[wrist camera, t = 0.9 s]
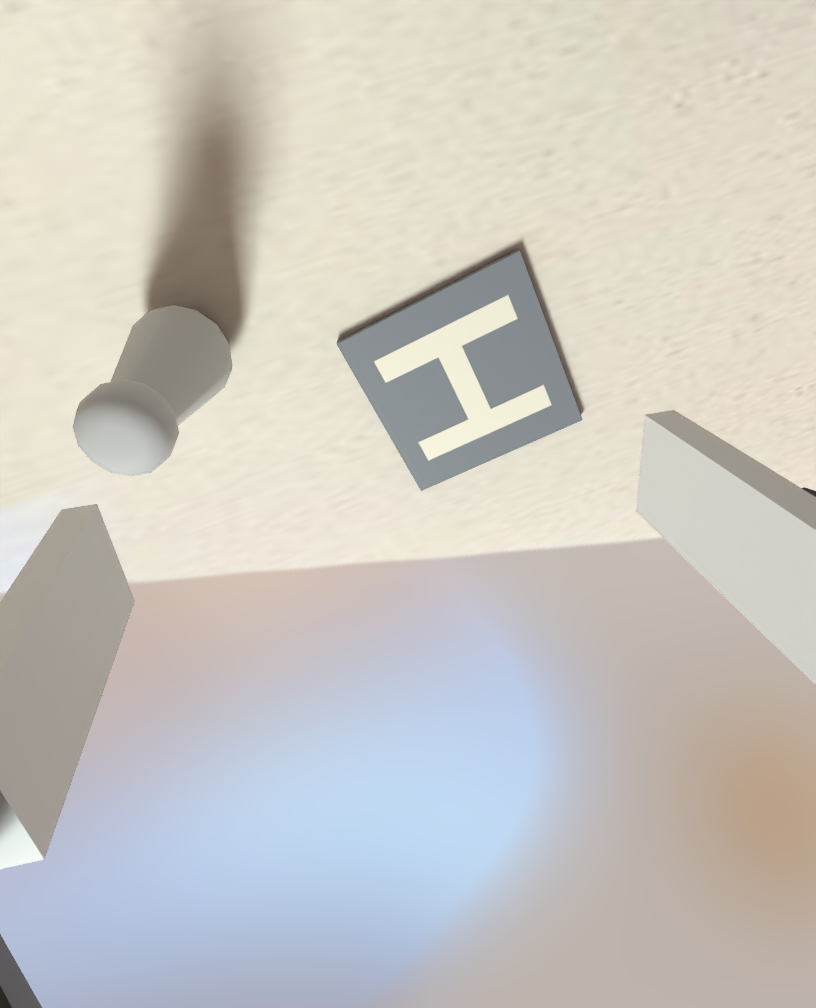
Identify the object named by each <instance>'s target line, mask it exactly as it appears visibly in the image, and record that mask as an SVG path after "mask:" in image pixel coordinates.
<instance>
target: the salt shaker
mask: <svg viewBox="0 0 816 1008" xmlns="http://www.w3.org/2000/svg"><path fill="white" fill-rule="evenodd" d="M231 370H232V360H231V354H230V348H229V343H228V342H227V340H226V338H225V337H224V335H223V333H222V332H221V330H220V328H219V327H218V325H217V324H216V323H215V322H213V321H211V320H210V319H209V318H207V317H206V316H204V315H203V314H201V313H200V312H199V311H197V310H194V309H189V308H185V307H181V306H177V305H171V306H166V307H162V308H157V309H153V310H150V311H149V312H147V313H146V314H145V315H144V316H143V317H142V318H141V319H140V320H139V321H137V322H136V323H135V324H134V325H133V327H132V329H131V332H130V334H129V337H128V339H127V342H126V344H125V347H124V349H123V352H122V354H121V357H120V359H119V362H118V364H117V367H116V369H115V372H114V374H113V377H112V379H111V382H109V383H104V384H100V385H99V386H98V387H97V388H96V389H94V390H93V391H92V392H91V393H90V394H89V395H88V396H86V397H85V398H84V399H83V400H82V401H81V402H80V404H79V406H78V408H77V412H76V416H75V420H74V424H73V429H74V433H75V436H76V440H77V443H78V446H79V447H80V448H81V449H82V451H83V452H84V453H85V454H86V455H87V456H88V457H89V459H90V460H91V461H92V462H94V463H95V464H97V465H99V466H101V467H102V468H104V469H106V470H108V471H109V472H111V473H117V474H122V475H128V476H135V475H140V474H146V473H151V472H152V471H153V470H155V469H156V468H157V467H158V466H159V465H161V464H162V463H163V462H164V461H165V460H166V459H167V458H169V457H170V455H171V453H172V450H173V448H174V445H175V442H176V439H177V437H178V434H179V431H178V425H179V424H180V423H182V422H183V421H184V420H185V419H187V418H188V417H189V416H190V415H192V414H193V413H194V412H195V411H196V410H198V409H199V408H200V407H201V406H203V405H204V404H205V403H206V402H208V401H209V400H210V399H211V398H212V397H214V396H215V395H216V394H217V393H218V392H219V391H220V390H222V389H223V388H224V387H225V385H226V382H227V380H228V377H229V375H230V372H231Z"/></svg>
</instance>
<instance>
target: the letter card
mask: <svg viewBox="0 0 816 1008" xmlns="http://www.w3.org/2000/svg"><path fill="white" fill-rule="evenodd" d="M337 346H338V347H339V349H340V351H341V352H342V354H343V356H344V358H345V359H346V361H347V363H348V365H349V366H350V368H351V370H352V372H353V373H354V375H355V377H356V378H357V380H358V382H359V384H360V385H361V387H362V389H363V391H364V392H365V394H366V396H367V398H368V399H369V401H370V403H371V405H372V406H373V408H374V410H375V411H376V413H377V415H378V417H379V418H380V420H381V422H382V424H383V425H384V427H385V429H386V431H387V432H388V434H389V436H390V437H391V439H392V441H393V443H394V444H395V446H396V448H397V450H398V451H399V453H400V455H401V457H402V458H403V460H404V462H405V463H406V465H407V467H408V469H409V470H410V472H411V474H412V476H413V477H414V479H415V481H416V483H417V484H418V486H419V488H420V490H421V491H422V490H424V489H427V488H429V487H431V486H433V485H436V484H438V483H440V482H442V481H445V480H447V479H449V478H452V477H454V476H456V475H458V474H461V473H463V472H465V471H467V470H470V469H472V468H474V467H477V466H479V465H481V464H483V463H486V462H488V461H490V460H492V459H495V458H497V457H499V456H502V455H504V454H506V453H508V452H511V451H513V450H515V449H517V448H520V447H522V446H524V445H527V444H529V443H531V442H533V441H536V440H538V439H540V438H542V437H545V436H547V435H549V434H552V433H554V432H556V431H558V430H561V429H563V428H565V427H567V426H570V425H572V424H574V423H577V422H579V421H581V420H582V417H581V415H580V412H579V409H578V406H577V404H576V401H575V398H574V396H573V393H572V390H571V387H570V385H569V382H568V379H567V377H566V374H565V371H564V369H563V366H562V363H561V360H560V358H559V355H558V352H557V350H556V347H555V344H554V341H553V339H552V336H551V333H550V331H549V328H548V325H547V322H546V320H545V317H544V314H543V312H542V309H541V306H540V304H539V301H538V298H537V295H536V293H535V290H534V287H533V285H532V282H531V279H530V276H529V274H528V271H527V268H526V266H525V263H524V260H523V258H522V255H521V252H520V250H519V249H517V250H515V251H513V252H511V253H509V254H507V255H505V256H503V257H501V258H500V259H498V260H496V261H494V262H492V263H490V264H488V265H486V266H484V267H482V268H480V269H478V270H476V271H474V272H472V273H470V274H468V275H466V276H464V277H462V278H460V279H458V280H457V281H455V282H453V283H451V284H449V285H447V286H445V287H443V288H441V289H439V290H437V291H435V292H433V293H431V294H429V295H427V296H425V297H423V298H421V299H419V300H417V301H415V302H414V303H412V304H410V305H408V306H406V307H404V308H402V309H400V310H398V311H396V312H394V313H392V314H390V315H388V316H386V317H384V318H382V319H380V320H378V321H376V322H374V323H372V324H370V325H369V326H367V327H365V328H363V329H361V330H359V331H357V332H355V333H353V334H351V335H349V336H347V337H345V338H343V339H341V340H339V341H337Z"/></svg>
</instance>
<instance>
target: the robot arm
mask: <svg viewBox="0 0 816 1008" xmlns="http://www.w3.org/2000/svg"><path fill="white" fill-rule="evenodd" d="M636 512H637V513H638V514H639V515H640V516H641V517H643V518H644V519H645V520H646V521H647V522H648V523H649V524H650V525H651V526H652V527H653V528H654V529H655V530H656V531H657V532H658V533H659V534H660V535H661V536H662V537H663V538H664V539H665V540H666V541H667V542H668V543H669V544H670V545H671V546H673V547H674V548H675V549H676V550H677V551H678V552H679V553H680V554H681V555H682V556H683V557H684V558H685V559H686V560H687V561H688V562H689V563H690V564H691V565H692V566H693V567H694V568H695V569H696V570H697V571H698V572H700V574H701V575H702V576H704V577H705V578H706V579H707V580H708V581H709V582H710V583H711V584H712V585H713V586H714V587H715V588H716V589H717V590H718V591H719V592H720V593H721V594H722V595H723V596H725V598H726V599H727V600H728V601H729V602H731V604H732V605H733V606H735V607H736V608H737V609H738V610H739V611H740V612H741V613H742V614H743V615H744V616H745V617H746V618H747V619H748V620H749V621H750V622H751V623H752V624H753V625H754V626H755V627H756V628H757V629H758V630H759V631H760V632H762V634H763V635H764V636H766V637H767V638H768V639H769V640H770V641H771V642H772V643H773V644H774V645H775V646H776V647H777V648H778V649H779V650H780V651H781V652H782V653H783V654H784V655H785V656H786V657H787V658H788V659H790V661H791V662H792V663H793V664H794V665H796V666H797V667H798V668H799V669H800V670H801V671H802V672H803V673H804V674H805V675H806V676H807V677H808V678H809V679H810V680H811V681H812V682H813V683H814V684H815V685H816V491H813V490H810V489H808V488H800V487H798V486H797V485H795V484H794V483H792V482H790V481H789V480H787V479H785V478H784V477H782V476H780V475H779V474H777V473H776V472H774V471H772V470H771V469H769V468H767V467H766V466H764V465H763V464H761V463H759V462H758V461H756V460H754V459H753V458H751V457H750V456H748V455H746V454H745V453H743V452H741V451H740V450H738V449H736V448H735V447H733V446H732V445H730V444H728V443H727V442H725V441H723V440H722V439H720V438H719V437H717V436H715V435H714V434H712V433H710V432H709V431H707V430H705V429H704V428H702V427H701V426H699V425H697V424H696V423H694V422H692V421H691V420H689V419H688V418H686V417H684V416H683V415H681V414H679V413H678V412H676V411H674V410H672V411H666V412H659V413H653V414H647V415H645V419H644V430H643V441H642V452H641V463H640V474H639V485H638V496H637V507H636ZM134 602H135V601H134V598H133V596H132V593H131V590H130V588H129V585H128V583H127V580H126V577H125V575H124V572H123V570H122V567H121V565H120V562H119V560H118V557H117V554H116V552H115V549H114V547H113V544H112V542H111V539H110V536H109V534H108V531H107V529H106V526H105V524H104V521H103V518H102V516H101V513H100V511H99V508H98V506H97V504H94V505H88V506H82V507H75V508H69V509H63V510H61V511H60V513H59V514H58V516H57V517H56V519H55V520H54V522H53V523H52V525H51V526H50V528H49V529H48V531H47V533H46V534H45V536H44V537H43V539H42V540H41V542H40V543H39V545H38V546H37V548H36V549H35V551H34V552H33V554H32V555H31V557H30V558H29V560H28V561H27V563H26V564H25V566H24V567H23V569H22V570H21V572H20V573H19V575H18V576H17V578H16V579H15V581H14V582H13V584H12V585H11V587H10V588H9V590H8V591H7V593H6V594H5V596H4V597H3V599H2V601H1V602H0V869H2V868H7V867H11V866H16V865H20V864H25V863H29V862H34V861H39V860H43V859H44V858H45V856H46V853H47V850H48V847H49V844H50V841H51V839H52V836H53V833H54V830H55V827H56V824H57V821H58V819H59V816H60V813H61V810H62V807H63V805H64V802H65V799H66V796H67V793H68V790H69V787H70V785H71V782H72V779H73V776H74V773H75V770H76V767H77V765H78V762H79V759H80V756H81V753H82V750H83V747H84V744H85V741H86V739H87V736H88V733H89V730H90V727H91V725H92V722H93V719H94V716H95V713H96V710H97V708H98V705H99V702H100V699H101V696H102V693H103V690H104V687H105V685H106V682H107V679H108V676H109V673H110V670H111V668H112V665H113V662H114V659H115V656H116V653H117V650H118V647H119V645H120V642H121V639H122V636H123V633H124V631H125V627H126V625H127V622H128V619H129V616H130V613H131V610H132V608H133V605H134ZM0 1008H42V1007H41V1005H40V1003H39V1002H38V1000H37V998H36V996H35V995H34V993H33V991H32V989H31V988H30V986H29V984H28V982H27V981H26V979H25V977H24V975H23V973H22V972H21V970H20V968H19V967H18V965H17V963H16V961H15V959H14V958H13V956H12V954H11V953H10V951H9V949H8V947H7V945H6V944H5V942H4V940H3V938H2V937H1V935H0Z"/></svg>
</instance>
